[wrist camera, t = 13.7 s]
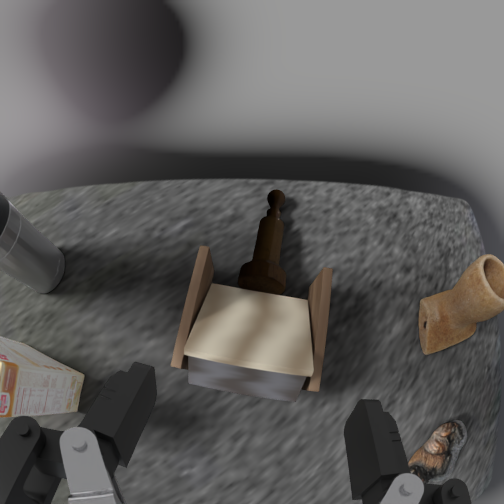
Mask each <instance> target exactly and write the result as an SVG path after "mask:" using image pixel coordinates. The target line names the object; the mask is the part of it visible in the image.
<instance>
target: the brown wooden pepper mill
mask: <svg viewBox="0 0 504 504" xmlns="http://www.w3.org/2000/svg"><path fill="white" fill-rule="evenodd" d="M267 200H268V203H269V205H270V209H268V210H267V216H266V217H263V218H262V219H261V220H260V224H259V229H258V235H257V240H256V245H255V249H254V254H253V259H252V261H250V262H247V263H245V264H244V265H243V266H242V267H241V269H240V274H239V278H238V285H239V286H240V287H241V288H242V289H246V290H252V291H258V292H263V293H269V294H275V295H280V294H282V293H283V292H284V291H285V284H286V273H285V271H284V270H283V269H282V268H281V267H280V266H279V259H280V251H281V244H282V237H283V230H284V223H283V221H282V220H281V219H279V218H280V216H281V212H280V210H279V208H280V207H281V206H282V205H283V204H284V202H285V195H284V193H283V192H282V191H280V190H272V191H271V192H270V193H269V194H268V197H267Z"/></svg>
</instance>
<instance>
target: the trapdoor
mask: <svg viewBox="0 0 504 504" xmlns="http://www.w3.org/2000/svg"><path fill="white" fill-rule="evenodd" d="M184 355H188V383H190V384H194V385H198V386H203V387H207V388H212V389H217V390H221V391H227V392H232V393H237V394H243V395H249V396H255V397H262V398H269V399H276V400H284V401H293V402H296V400H297V398H298V395H299V393H300V391H301V388H302V386H303V384H304V382H305V379H306V377H307V376H309V377H311V376H312V374H313V371H314V368H313V355H312V343H311V331H310V321H309V311H308V301H307V300H305V299H299V298H293V297H287V296H281V295H275V294H269V293H263V292H258V291H252V290H246V289H241V288H236V287H230V286H225V285H220V284H214V283H212V284H211V287H210V289H209V291H208V293H207V296H206V298H205V300H204V303H203V305H202V307H201V310H200V312H199V314H198V317H197V319H196V321H195V324H194V326H193V328H192V331H191V333H190V335H189V338H188V340H187V342H186V345H185V347H184Z"/></svg>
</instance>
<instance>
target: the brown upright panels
mask: <svg viewBox="0 0 504 504" xmlns="http://www.w3.org/2000/svg"><path fill="white" fill-rule="evenodd" d="M332 270H333V269H331V268H326V267H324V268H323V269H322V270H321V272H320V273H319V274H318V276H317V277H316V279H315V280H314V281H313V283H312V284H311V285H310V287H309V293H308V311H309V321H310V331H311V343H312V355H313V368H314V371H313V374H312V376H311V377H309V376H307V377H306V379H305V382H304V384H303V386H302V388H301V389H302V390H308V391H317V392H319V387H320V380H321V374H322V367H323V359H324V352H325V344H326V335H327V326H328V317H329V307H330V296H331V284H332ZM213 274H214V267H213V263H212V258H211V253H210V249H209V247H207V246H201V245H200V248H199V251H198V255H197V259H196V262H195V266H194V270H193V274H192V278H191V281H190V285H189V289H188V293H187V297H186V301H185V305H184V310H183V314H182V318H181V322H180V326H179V331H178V335H177V339H176V344H175V348H174V353H173V357H172V362H171V366H173V367H177V368H181V369H188V355H184V347H185V345H186V342H187V340H188V338H189V335H190V333H191V331H192V328H193V326H194V324H195V321H196V319H197V317H198V314H199V312H200V310H201V307H202V305H203V303H204V300H205V298H206V296H207V293H208V291H209V289H210V287H211V282H212V278H213Z"/></svg>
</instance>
